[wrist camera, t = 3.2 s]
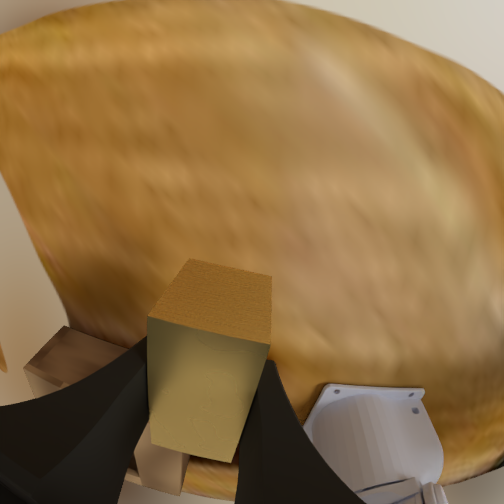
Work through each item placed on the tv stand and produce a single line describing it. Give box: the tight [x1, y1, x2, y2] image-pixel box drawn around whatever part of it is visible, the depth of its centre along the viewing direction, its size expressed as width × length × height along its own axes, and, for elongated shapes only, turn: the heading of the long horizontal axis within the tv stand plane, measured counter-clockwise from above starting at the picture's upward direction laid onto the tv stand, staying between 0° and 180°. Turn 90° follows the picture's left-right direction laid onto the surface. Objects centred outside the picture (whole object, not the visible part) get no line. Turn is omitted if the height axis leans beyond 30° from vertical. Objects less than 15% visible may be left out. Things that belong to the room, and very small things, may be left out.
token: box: [147, 258, 272, 463], centre depth 10 cm, size 3×6×4 cm, turn 169°
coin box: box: [23, 326, 190, 496], centre depth 19 cm, size 12×12×6 cm
